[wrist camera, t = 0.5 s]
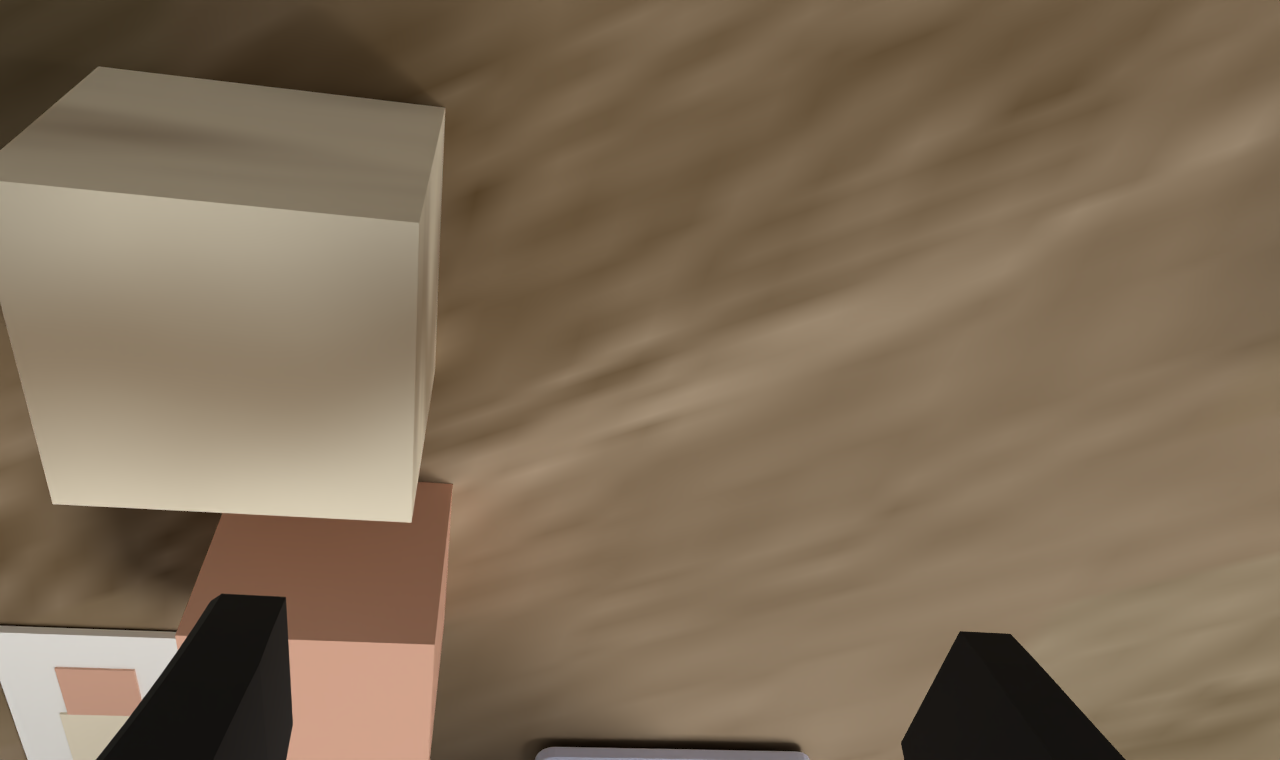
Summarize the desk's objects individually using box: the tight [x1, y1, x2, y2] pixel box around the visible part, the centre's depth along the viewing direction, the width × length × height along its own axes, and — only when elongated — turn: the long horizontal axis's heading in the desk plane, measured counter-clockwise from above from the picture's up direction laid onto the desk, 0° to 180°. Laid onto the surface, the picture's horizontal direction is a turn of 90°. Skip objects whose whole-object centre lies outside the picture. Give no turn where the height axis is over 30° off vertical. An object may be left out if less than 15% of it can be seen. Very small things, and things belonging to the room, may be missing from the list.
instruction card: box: [0, 626, 178, 760], centre depth 25 cm, size 6×4×1 cm
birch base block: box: [0, 66, 445, 523], centre depth 16 cm, size 6×6×4 cm
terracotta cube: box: [175, 482, 453, 760], centre depth 20 cm, size 4×4×4 cm
